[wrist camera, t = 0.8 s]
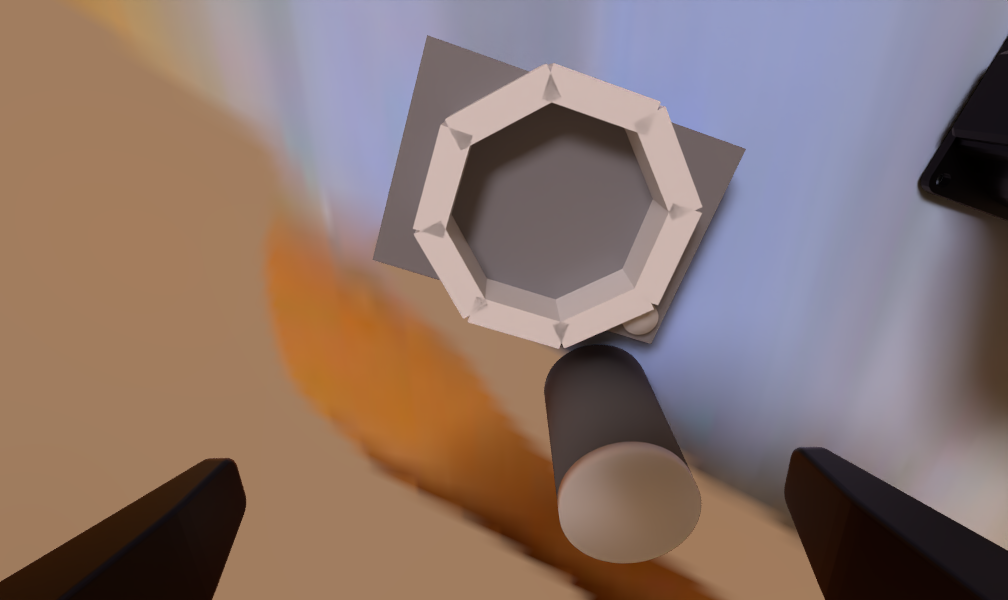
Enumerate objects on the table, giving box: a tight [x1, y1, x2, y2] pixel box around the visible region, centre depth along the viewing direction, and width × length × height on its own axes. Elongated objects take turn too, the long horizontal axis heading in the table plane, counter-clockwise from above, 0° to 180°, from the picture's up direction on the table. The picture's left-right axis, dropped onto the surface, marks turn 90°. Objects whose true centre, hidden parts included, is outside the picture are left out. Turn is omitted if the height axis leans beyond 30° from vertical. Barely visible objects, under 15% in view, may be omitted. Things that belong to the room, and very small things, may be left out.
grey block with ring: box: [373, 35, 746, 349], centre depth 18 cm, size 10×8×5 cm
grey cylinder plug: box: [544, 345, 701, 563], centre depth 20 cm, size 4×4×7 cm
